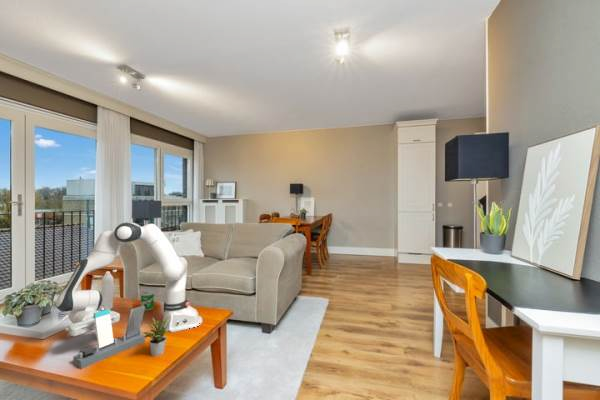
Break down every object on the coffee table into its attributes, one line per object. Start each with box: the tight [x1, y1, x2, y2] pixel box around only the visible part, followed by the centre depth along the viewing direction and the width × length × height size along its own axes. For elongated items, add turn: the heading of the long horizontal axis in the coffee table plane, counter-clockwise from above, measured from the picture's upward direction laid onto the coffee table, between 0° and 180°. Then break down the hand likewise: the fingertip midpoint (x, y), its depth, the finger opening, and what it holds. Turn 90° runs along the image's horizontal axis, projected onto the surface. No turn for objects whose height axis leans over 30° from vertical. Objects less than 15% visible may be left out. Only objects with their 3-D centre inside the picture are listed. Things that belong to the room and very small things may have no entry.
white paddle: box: [93, 309, 114, 348], centre depth 127 cm, size 6×2×16 cm, turn 149°
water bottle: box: [100, 269, 118, 310], centre depth 179 cm, size 9×6×25 cm
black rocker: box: [79, 346, 97, 355], centre depth 119 cm, size 4×6×1 cm, turn 59°
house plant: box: [139, 316, 172, 357], centre depth 128 cm, size 14×14×16 cm
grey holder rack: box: [72, 328, 146, 370], centre depth 127 cm, size 27×8×5 cm, turn 149°
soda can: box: [140, 290, 155, 312], centre depth 178 cm, size 8×8×12 cm
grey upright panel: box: [124, 305, 145, 339], centre depth 134 cm, size 6×2×16 cm, turn 149°
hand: (102, 327), depth 127 cm, fingers closed, pressing on white paddle
